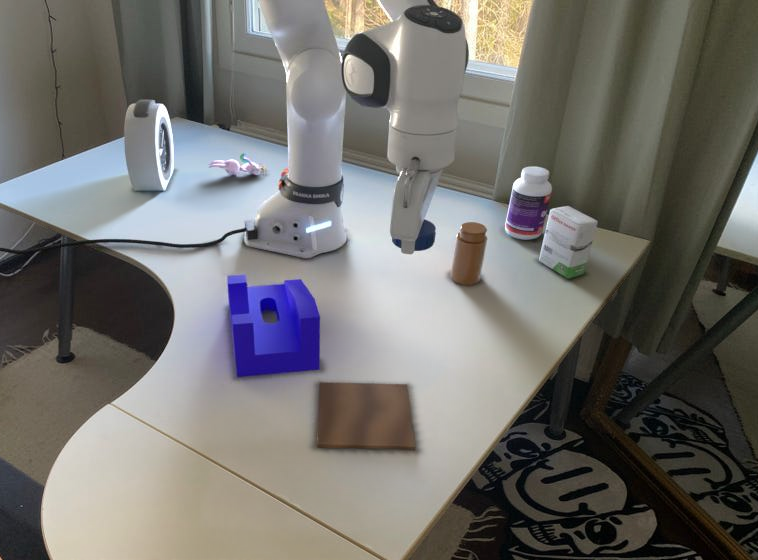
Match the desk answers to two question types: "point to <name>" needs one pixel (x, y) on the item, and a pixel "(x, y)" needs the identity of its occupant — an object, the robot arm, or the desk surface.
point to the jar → (469, 253)
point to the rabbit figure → (238, 166)
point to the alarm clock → (148, 146)
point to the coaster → (364, 416)
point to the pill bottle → (528, 204)
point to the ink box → (567, 241)
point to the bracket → (273, 327)
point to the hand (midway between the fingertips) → (412, 239)
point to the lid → (422, 237)
